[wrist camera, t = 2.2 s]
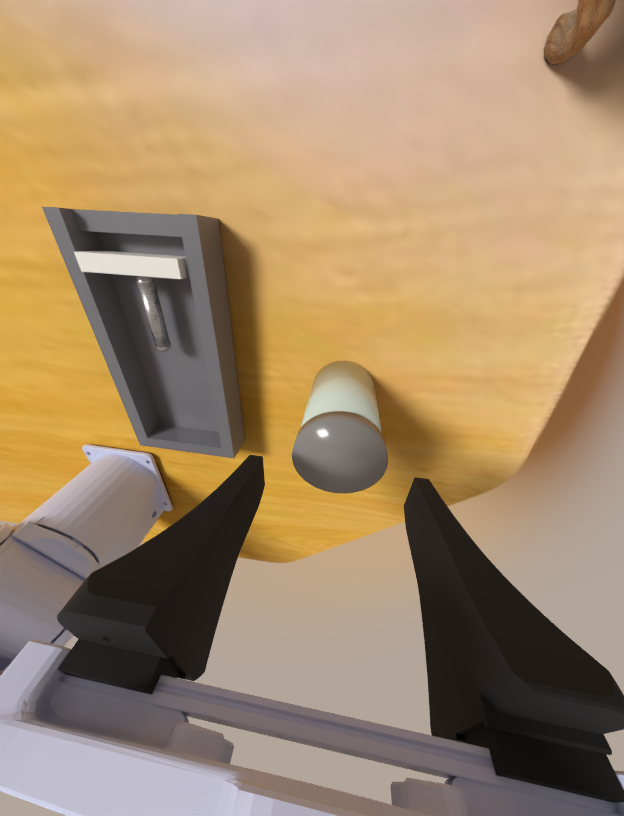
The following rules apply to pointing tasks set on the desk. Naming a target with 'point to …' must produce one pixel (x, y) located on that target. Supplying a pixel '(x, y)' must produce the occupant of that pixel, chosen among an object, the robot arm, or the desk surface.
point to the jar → (341, 432)
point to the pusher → (140, 280)
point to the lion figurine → (576, 29)
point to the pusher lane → (185, 320)
